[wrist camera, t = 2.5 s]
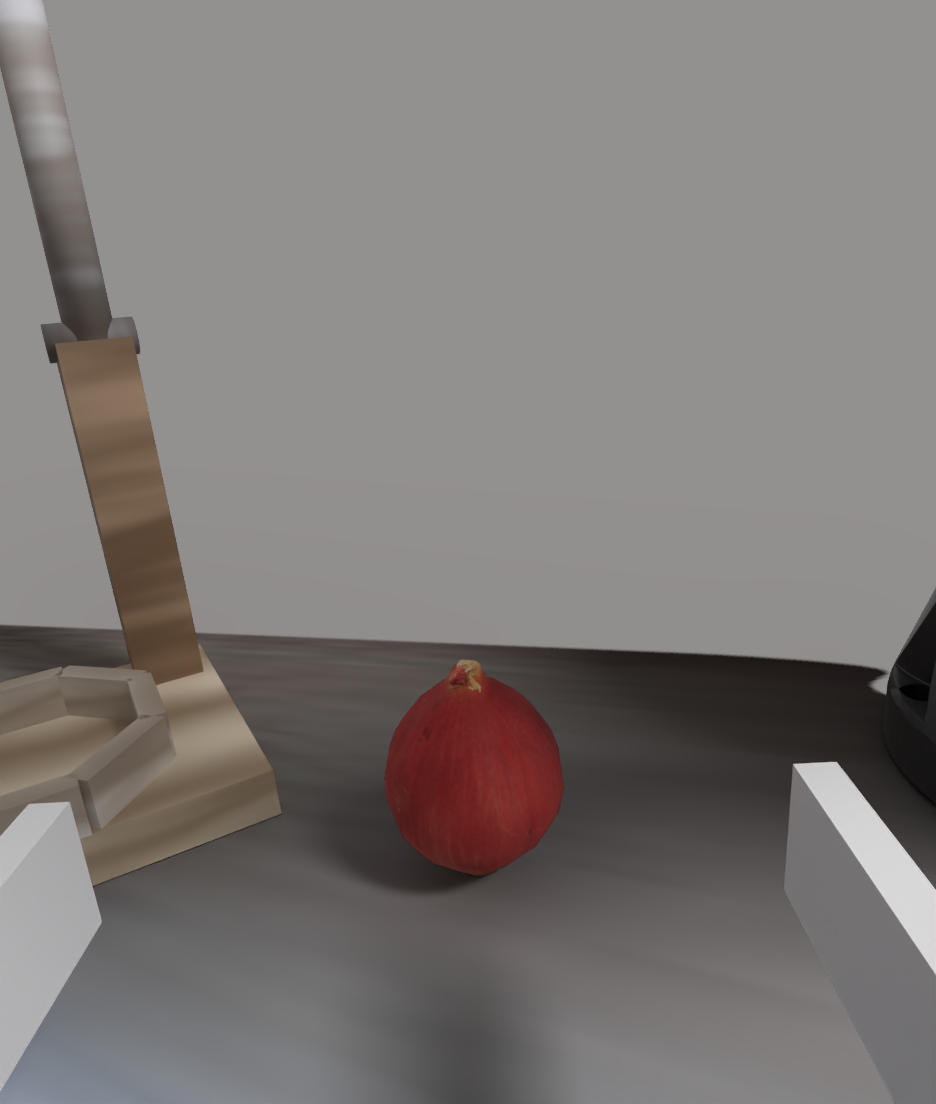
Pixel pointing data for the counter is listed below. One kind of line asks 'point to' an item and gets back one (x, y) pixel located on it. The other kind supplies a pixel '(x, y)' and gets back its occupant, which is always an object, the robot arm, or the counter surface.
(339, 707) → the counter surface
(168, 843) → the press
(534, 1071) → the counter surface
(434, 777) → the onion
